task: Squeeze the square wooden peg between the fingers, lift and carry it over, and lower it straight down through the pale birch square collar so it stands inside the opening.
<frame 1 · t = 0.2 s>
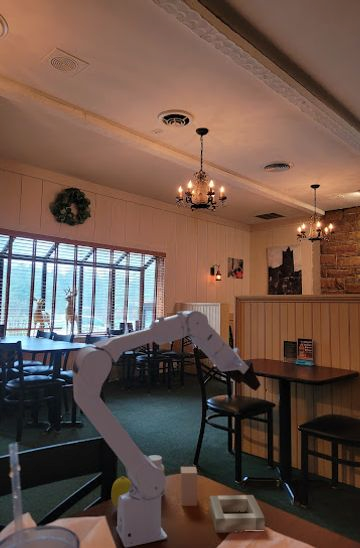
hand: (249, 383, 105), 31 cm above the table, tool tilted 45°, fingers open, 7 cm apart
collar: (235, 519, 98), on the table
lemon: (122, 510, 101), on the table
supplement bottle: (154, 495, 110), on the table
peg: (188, 501, 106), on the table
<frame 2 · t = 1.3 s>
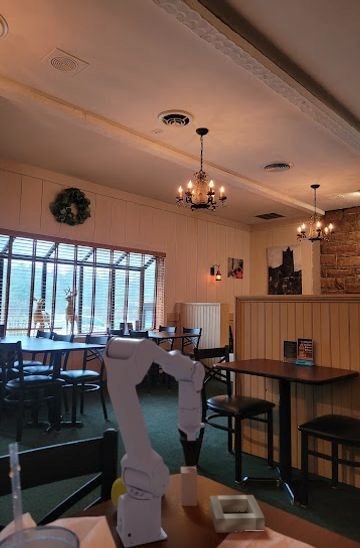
hand: (189, 460, 107), 10 cm above the table, tool pointing down, fingers open, 7 cm apart
nothing on the table moved.
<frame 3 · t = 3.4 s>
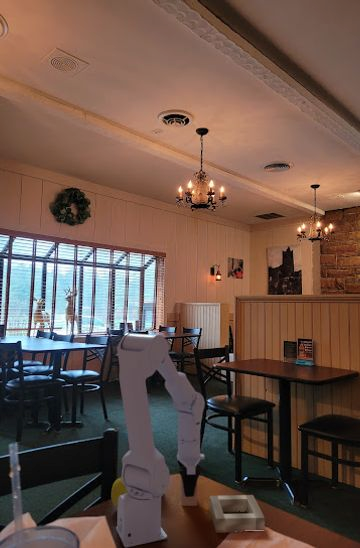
hand: (188, 492, 106), 2 cm above the table, tool pointing down, fingers closed on peg, 4 cm apart
peg: (188, 501, 106), on the table, touching gripper
everything else where it was.
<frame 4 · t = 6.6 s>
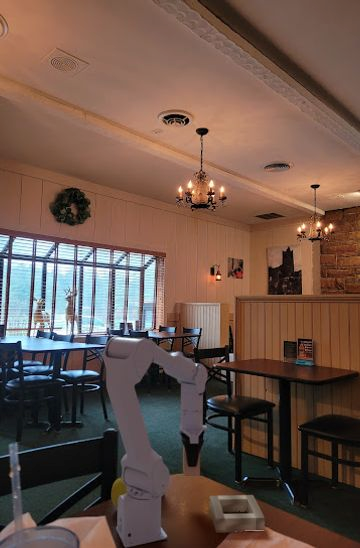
hand: (191, 462, 106), 10 cm above the table, tool pointing down, fingers closed on peg, 4 cm apart
peg: (191, 472, 106), point 7 cm above the table, touching gripper
everything else where it was.
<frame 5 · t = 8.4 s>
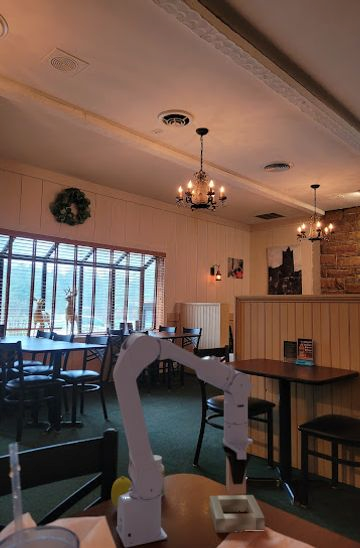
hand: (235, 479, 98), 9 cm above the table, tool pointing down, fingers closed on peg, 4 cm apart
peg: (235, 489, 98), point 7 cm above the table, touching gripper
everything else where it was.
when the fingers open (4 cm above the table, at t = 9.9 s): peg drops 2 cm, resting in collar.
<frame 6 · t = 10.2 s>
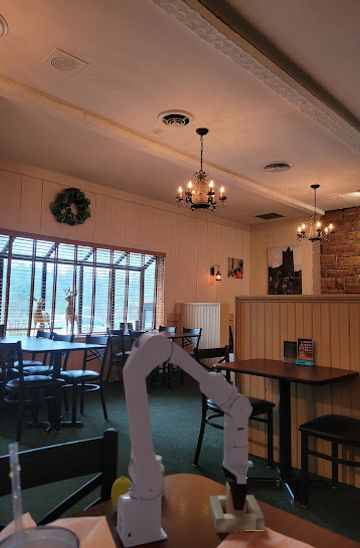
hand: (235, 502, 98), 4 cm above the table, tool pointing down, fingers open, 6 cm apart
peg: (235, 519, 98), resting in collar
everything else where it was.
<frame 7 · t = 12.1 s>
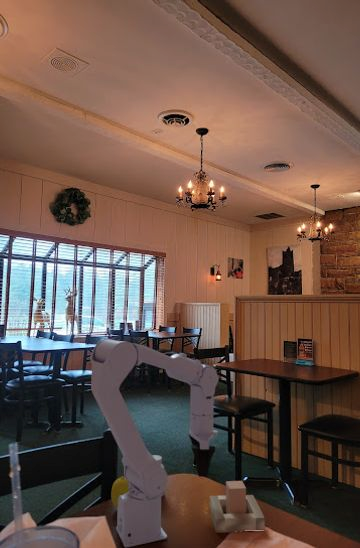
hand: (201, 469, 101), 10 cm above the table, tool pointing down, fingers open, 7 cm apart
nothing on the table moved.
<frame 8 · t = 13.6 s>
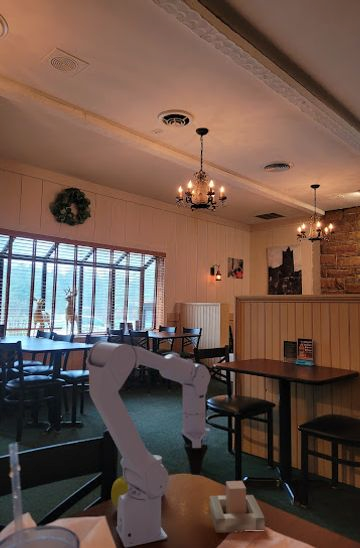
hand: (194, 467, 102), 10 cm above the table, tool pointing down, fingers open, 7 cm apart
nothing on the table moved.
at the end: peg 0.0 cm from the collar (horizontally); peg tilted 0°; the gripper is holding nothing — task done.
